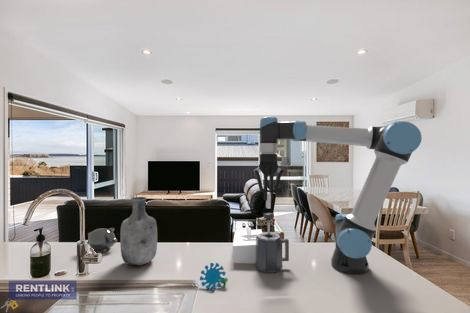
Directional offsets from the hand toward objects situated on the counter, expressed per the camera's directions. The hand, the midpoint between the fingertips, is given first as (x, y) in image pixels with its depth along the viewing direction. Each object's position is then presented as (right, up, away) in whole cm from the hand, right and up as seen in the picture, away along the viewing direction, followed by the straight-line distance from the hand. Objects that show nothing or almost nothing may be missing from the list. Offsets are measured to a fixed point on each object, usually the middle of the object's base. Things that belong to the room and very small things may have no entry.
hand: (268, 207), depth 115 cm
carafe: (+2, -26, 0) cm, 26 cm away
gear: (-22, -28, -14) cm, 38 cm away
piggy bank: (-83, -27, +23) cm, 91 cm away
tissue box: (-7, -27, +18) cm, 33 cm away
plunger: (0, -17, 0) cm, 17 cm away
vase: (-59, -27, +8) cm, 65 cm away
